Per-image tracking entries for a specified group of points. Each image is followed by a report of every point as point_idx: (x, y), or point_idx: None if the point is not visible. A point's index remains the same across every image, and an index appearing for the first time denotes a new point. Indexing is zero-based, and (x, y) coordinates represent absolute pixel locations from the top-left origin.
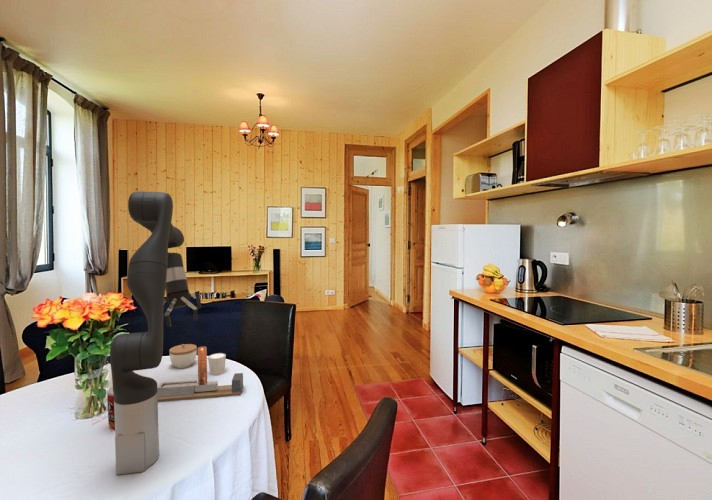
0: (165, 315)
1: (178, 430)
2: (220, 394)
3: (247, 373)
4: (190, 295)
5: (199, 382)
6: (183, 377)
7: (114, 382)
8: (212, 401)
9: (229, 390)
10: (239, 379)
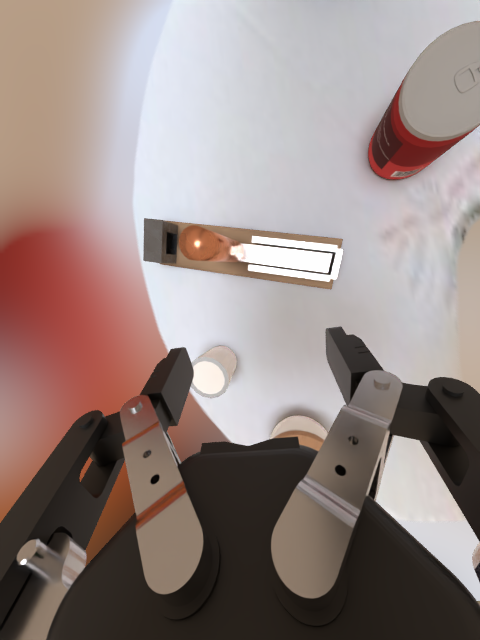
0: (388, 374)
1: (271, 79)
2: (200, 224)
3: (161, 329)
4: (61, 603)
5: (238, 242)
6: (293, 360)
7: None
8: (217, 208)
9: None
10: (146, 222)
